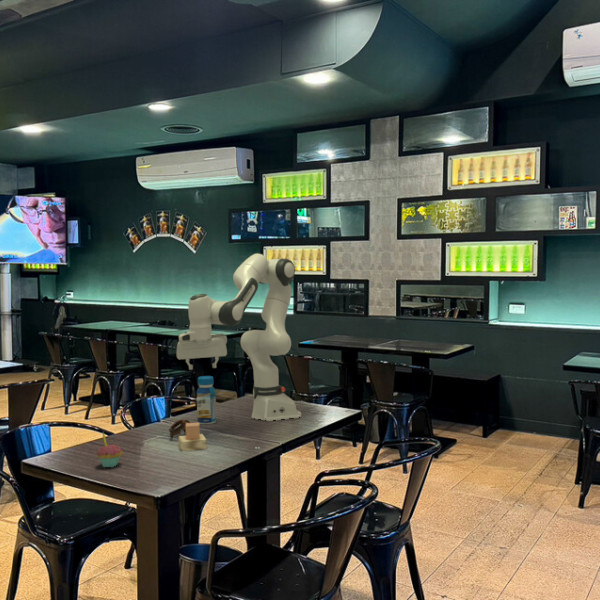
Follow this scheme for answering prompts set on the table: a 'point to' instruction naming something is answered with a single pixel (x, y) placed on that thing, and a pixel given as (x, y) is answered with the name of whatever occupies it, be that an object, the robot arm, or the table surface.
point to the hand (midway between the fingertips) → (202, 368)
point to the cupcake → (109, 454)
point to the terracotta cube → (192, 431)
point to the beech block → (192, 443)
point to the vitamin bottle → (206, 401)
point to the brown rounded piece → (178, 429)
